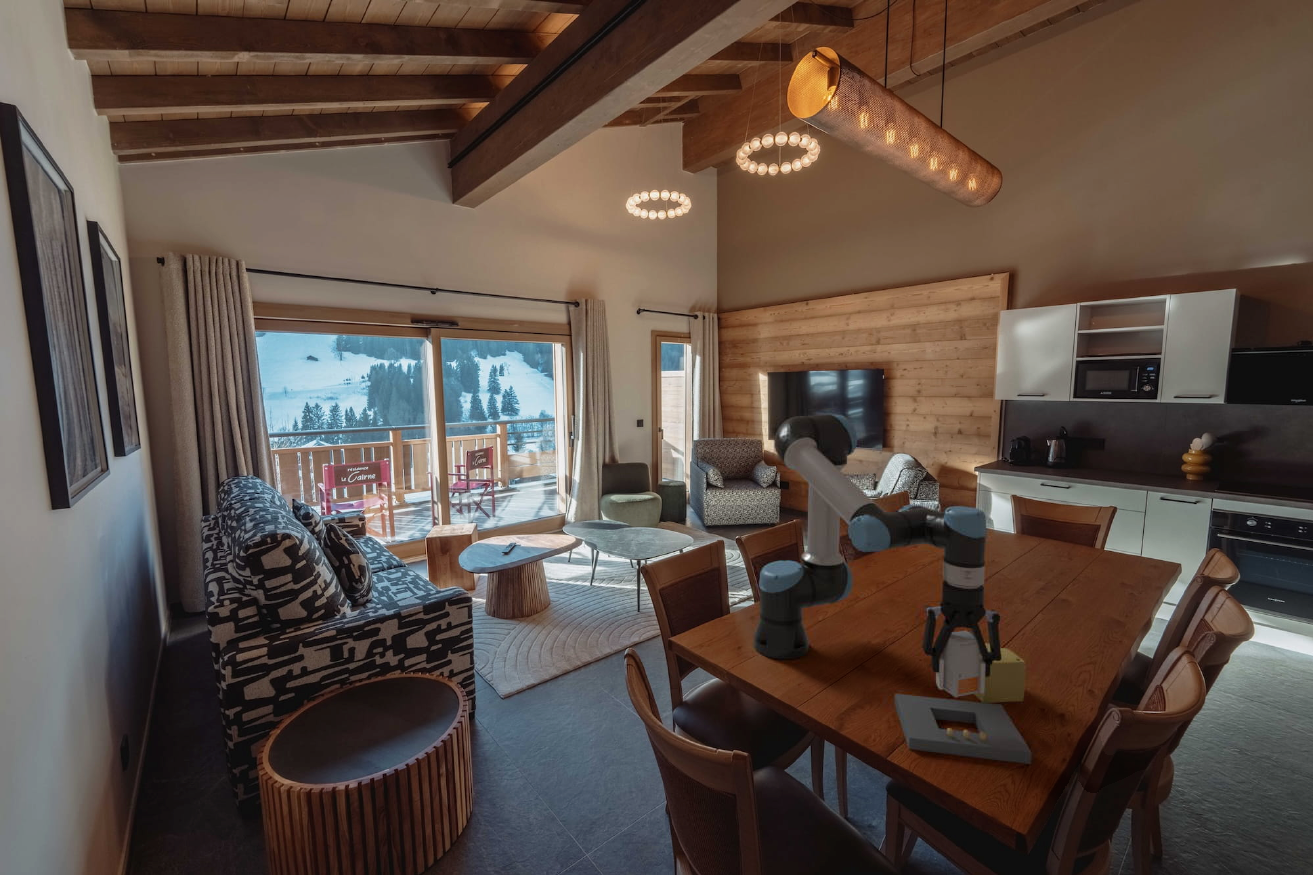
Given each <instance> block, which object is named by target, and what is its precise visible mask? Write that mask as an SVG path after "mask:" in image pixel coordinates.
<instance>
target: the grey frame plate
mask: <svg viewBox="0 0 1313 875" xmlns="http://www.w3.org/2000/svg"><path fill="white" fill-rule="evenodd" d="M894 706H895V710H896V712H897V716H898V718H899V721H900V725H901V728H902V732H903V736H904V738H905V741H906V744H907V747H908V750H911V751H912V750H913V751H921V752H929V753H930V752H931V753H937V754H939V753H940V754H945V755H953V756H954V755H955V756H963V757H970V758H976V759H977V758H978V759H985V760H995V761H1002V762H1010V763H1018V764H1027V765H1031V764H1032V750H1031V749H1030V748H1029V746H1028V744H1027V742H1026V741H1025V740H1024V738H1023V736H1022V735H1021V733H1020V732H1019V730H1018V729H1017V727H1016V725H1015V724H1014V723H1013V721H1012V719H1011V718H1010V716H1009V715H1008V713H1007V712H1006V710H1005V708H1004V707H1003V705H1002V704H997V703H983V702H981V701H980V702H978V701H977V702H976V701H968V700H959V699H950V698H949V699H948V698H939V697H929V696H919V695H913V694H912V695H910V694H903V693H902V694H901V693H894ZM936 720H940V721H941V720H942V721H950V722H960V723H968V724H974V725H975V727H976V728H977V731H978V732H979V733H978V732H970V731H969V730H968V729H963V730H962V731H961V730H954V729H952V728H951V727H947V728H946V729H943V728H940V727H939V725H938V723H937V721H936Z"/></svg>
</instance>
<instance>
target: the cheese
mask: <svg viewBox="0 0 1313 875" xmlns="http://www.w3.org/2000/svg"><path fill="white" fill-rule="evenodd" d="M985 645H986V647H987V650H988V652H991V650H990V643H987V642H985ZM1000 650H1001V660H1000V661H996V660H995V661H993V664H992V665H990V676H989V677H985V688H984V694H982V693H980V692H979V690H978V693H974V694H973V695H974V696H975V697H976V698H978V699H979V700H980V702H981V703H989V704H996V703H1009V702H1024V698H1025V690H1026V689H1025V688H1026V669H1027V668H1026V665H1027V664H1026V661H1025V660H1024V659H1023V658H1021V657H1020V656H1019V655H1017V654H1016V653H1015V652H1013V651H1012V650H1010V649H1009V648H1005V647H1004V648H1003V647H1000ZM980 657H981V658H982V656H981V654H980Z"/></svg>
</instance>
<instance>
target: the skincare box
mask: <svg viewBox="0 0 1313 875" xmlns="http://www.w3.org/2000/svg"><path fill="white" fill-rule="evenodd" d="M941 656H942V657H943V659H944V678H943V691H946V692H947V693H948V694H950V695H951V696H952V697H954V698H958V697H963V696H968V695H974V693H978V689H979V670H980V648H979V645H978V642H977V639H976V638H975V637H974V635H973V633H971V632H970V631H967V630H962V631H961V630H960V631H953V632H952V634H951V636H950V638H949V640H948V642H947V644H946V646H945V648H944V650H943V652H942V654H941Z"/></svg>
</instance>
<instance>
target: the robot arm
mask: <svg viewBox="0 0 1313 875" xmlns="http://www.w3.org/2000/svg"><path fill="white" fill-rule="evenodd" d="M857 445H858V435H857V432H856V428H855V426H854V424H852V423H851V420H850V419H848V418H847V417H846V416H844V415H842V414H827V413H826V414H816V415H804V416H803V415H798V416H793V417H790V418H788V419H786V420H785V421H784V422H782V424H781V425H780V426H779V427H778V429H777V431H776V432H775V436H774V448H775V451H776V454H777V456H778V458H779V460H780V461H781V462H782V463H783V465H784V466H786V467H787V468H788V469H790V470H793V471H796V472H797V473H798V475H800V476H801V477H802V478H803V479H804V480H805V481H806V482H807V484H808V500H807V502H808V503H807V505H808V506H807V544H806V545H807V547H806V548H807V549H806V550H805V551H804V552H803V553H802V554H801V564H800V563H799V562H797V561H793V560H783V559H782V560H776V561H772V562H769V563H767V564H766V565H764V566H763V567H762V568H761V570H760V574H759V582H758V586H759V619H758V623H757V626H756V628H755V631H754V633H753V647H754V649H755V650H756V652H758V653H760V654H762V656H763V655H764V656H766V657H768V658H771V659H772V658H773V659H778V660H794V659H795V660H796V659H799V658H801V657H803V656H805V655H806V654H808V652H809V648H810V647H809V646H810V645H809V643H810V642H809V639H808V638H809V637H808V635H807V632H806V628H805V625H804V623H803V609H807V608H812V607H819V606H823V605H828V604H830V605H832V604H835V603H837V602H840V601H843V600H845V599H846V598H848V596H849V595H850V593H851V592H852V589H853V584H854V582H853V573H852V572H850V571H851V568H850V566H849V564H848V563H847V562H846V561H845V558H844V556H843V555H842V554H841V553H840V551H839V550H840V522H841V520H840V519H841V518H842V519H843V520H844V521H845V523H846V524H847V525H848V530H847V531H848V537H849V539H850V540H851V544H852V546H853V547H854V548H855V549H856V550H858V551H860V552H862V553H867V552H870V553H871V552H882V551H885V550H890V549H896V548H903V547H908V546H909V547H910V546H915V545H917V546H918V545H921V544H925V545H926V544H927V545H929V546H932V547H936V548H938V549H943V551H942V552H943V553H942V554H943V555H942V556H943V558H942V560H943V561H942V562H943V564H942V567H943V568H942V579H943V581H942V588H941V589H942V594H941V595H942V596H941V603H940V604H939V606H934V607H933V606H932V607H931V606H930V605H926V606H925V613H926V622H925V629H924V633H923V640H922V647H921V648H922V650H923V653H924V654H925V656H931V666H930V667H931V669H932V672H933V673H935V684H936V686H937V687H938V690H941V691H942V690H943V691H944V689H943V678H944V659H943V657H942V652H943V650H944V648H945V646H946V644H947V642H948V640H949V638H950V636H951V634H952V633H953V632H955V629H956V628H957V629H958V628H966V629H970V630H971V632H972V633H971V634H973V635H974V637H975V638H976V639H977V642H978V645H979V648H980V654H981V656H982V658H981V657H980V670H979V689H978V690H979V692H980V693H982V694H984V688H985V677H989V676H990V665H992V664H993V661H995V660H996V661H1000V660H1001V650H1000V648H1001V643H1000V641H1001V640H1000V632H999V631H1000V630H999V623H1000V621H1001V616H1000V614H999V613H998V612H997V610H995V609H991V610H990V609H985V606H984V600H985V587H984V584H985V572H986V571H985V570H986V569H985V568H986V567H985V566H986V563H985V562H986V561H985V560H986V559H985V558H986V557H985V555H986V545H987V535H988V530H987V516H986V513H985V512H984V511H983V510H981V509H980V508H975V507H972V506H971V507H969V506H964V505H955V506H948V507H947V508H946V509H945V510H944V511H943V512H942V511H938V510H934V509H931V508H928V507H925V506H924V505H923V506H922V505H914V504H907V505H904V506H902V507H901V508H900V509H898V511H894V512H886V511H884V510H883V508H881V507H880V506H879V505H878V504H876V502H874V501H873V500H872V499H871V498H870V497H869V496H868V495H867V494H866V493H865V492H864V491H863V490H862V489H860V488H859V486H857V485H856V484H855V483H854V482H853V481H852V480H851V479H850V478H849V477H848V476H846V474H844V473H843V472H842V469H844V467H846V466H847V465H848V456H850V455H852V454H853V453H854V451H855V450H856V448H857ZM941 613H942V615H943V616H944V620H943V622H942V627H941V628H940V631H939V633H938V634H937V637H936V639H935V641H934V638H935V633H936V626H937V619H938V618H939V615H940V614H941ZM984 617H985V620H986V621H987V631H988V640H989V644H990V650H991V652H988V650H987V647H986V645H985V643H986V642H985V640H984V637H983V635H982V633H981V629H980V626H979V623H980V621H981V620H982V619H983V618H984Z"/></svg>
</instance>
